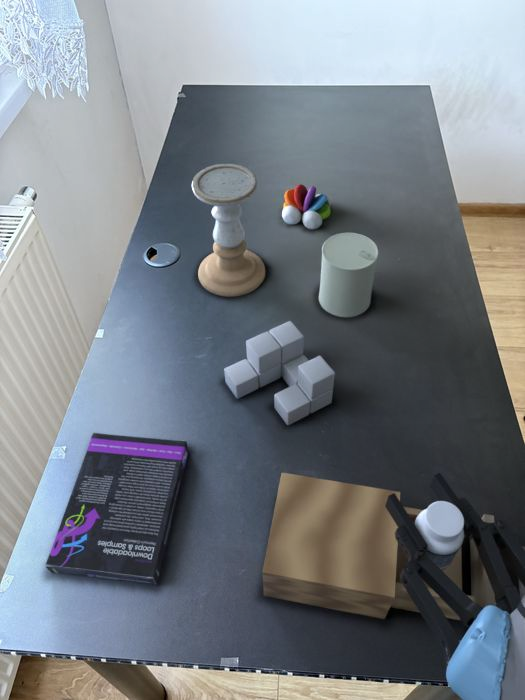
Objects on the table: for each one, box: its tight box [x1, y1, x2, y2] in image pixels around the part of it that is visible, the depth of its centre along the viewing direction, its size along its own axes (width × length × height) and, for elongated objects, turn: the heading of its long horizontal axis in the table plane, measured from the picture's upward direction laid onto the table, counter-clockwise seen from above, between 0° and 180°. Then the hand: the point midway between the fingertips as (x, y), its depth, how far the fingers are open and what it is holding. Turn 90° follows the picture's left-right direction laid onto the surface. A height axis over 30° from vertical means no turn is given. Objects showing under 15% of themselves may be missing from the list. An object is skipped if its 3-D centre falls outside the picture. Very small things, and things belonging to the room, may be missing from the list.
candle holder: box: [191, 163, 266, 298], centre depth 102 cm, size 12×12×20 cm
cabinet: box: [262, 472, 401, 620], centre depth 73 cm, size 15×13×9 cm
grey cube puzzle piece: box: [223, 320, 336, 426], centre depth 89 cm, size 12×12×8 cm
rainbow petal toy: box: [281, 183, 331, 230], centre depth 117 cm, size 8×10×7 cm
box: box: [45, 432, 189, 587], centre depth 79 cm, size 14×4×20 cm
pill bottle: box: [414, 500, 465, 571], centre depth 65 cm, size 5×5×9 cm
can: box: [318, 232, 379, 318], centre depth 100 cm, size 9×9×12 cm
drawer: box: [390, 506, 525, 621], centre depth 71 cm, size 18×11×7 cm, turn 79°
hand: (412, 490), depth 67 cm, fingers closed on pill bottle, 5 cm apart
